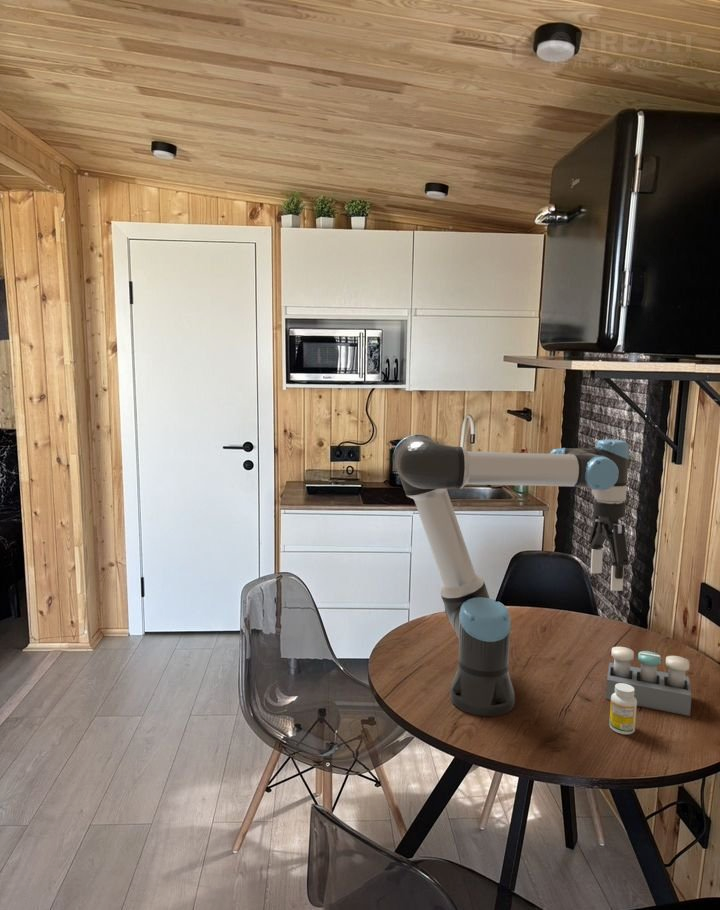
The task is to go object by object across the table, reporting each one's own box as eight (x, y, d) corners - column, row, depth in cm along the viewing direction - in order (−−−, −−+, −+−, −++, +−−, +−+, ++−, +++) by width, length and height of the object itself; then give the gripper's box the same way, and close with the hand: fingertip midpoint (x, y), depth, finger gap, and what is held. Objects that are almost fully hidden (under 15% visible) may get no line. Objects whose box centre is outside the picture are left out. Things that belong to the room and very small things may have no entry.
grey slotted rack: (689, 716, 145) (691, 695, 144) (605, 699, 152) (607, 679, 152) (687, 696, 154) (688, 676, 153) (608, 680, 161) (609, 662, 161)
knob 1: (632, 682, 152) (633, 657, 151) (609, 678, 154) (611, 653, 153) (632, 673, 156) (634, 648, 155) (610, 669, 158) (612, 645, 157)
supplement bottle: (627, 738, 136) (630, 696, 135) (604, 727, 140) (606, 686, 139) (639, 729, 139) (642, 688, 138) (616, 719, 144) (619, 679, 142)
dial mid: (659, 687, 149) (661, 660, 148) (636, 683, 151) (638, 656, 150) (659, 678, 154) (661, 652, 153) (636, 674, 156) (638, 648, 155)
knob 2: (688, 692, 147) (690, 666, 146) (664, 688, 149) (666, 662, 148) (686, 683, 151) (688, 658, 151) (663, 679, 153) (665, 654, 153)
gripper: (646, 511, 148) (641, 598, 151) (605, 491, 173) (602, 566, 176) (614, 511, 148) (610, 598, 151) (578, 491, 173) (575, 566, 176)
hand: (605, 581), depth 164 cm, fingers open, 13 cm apart
